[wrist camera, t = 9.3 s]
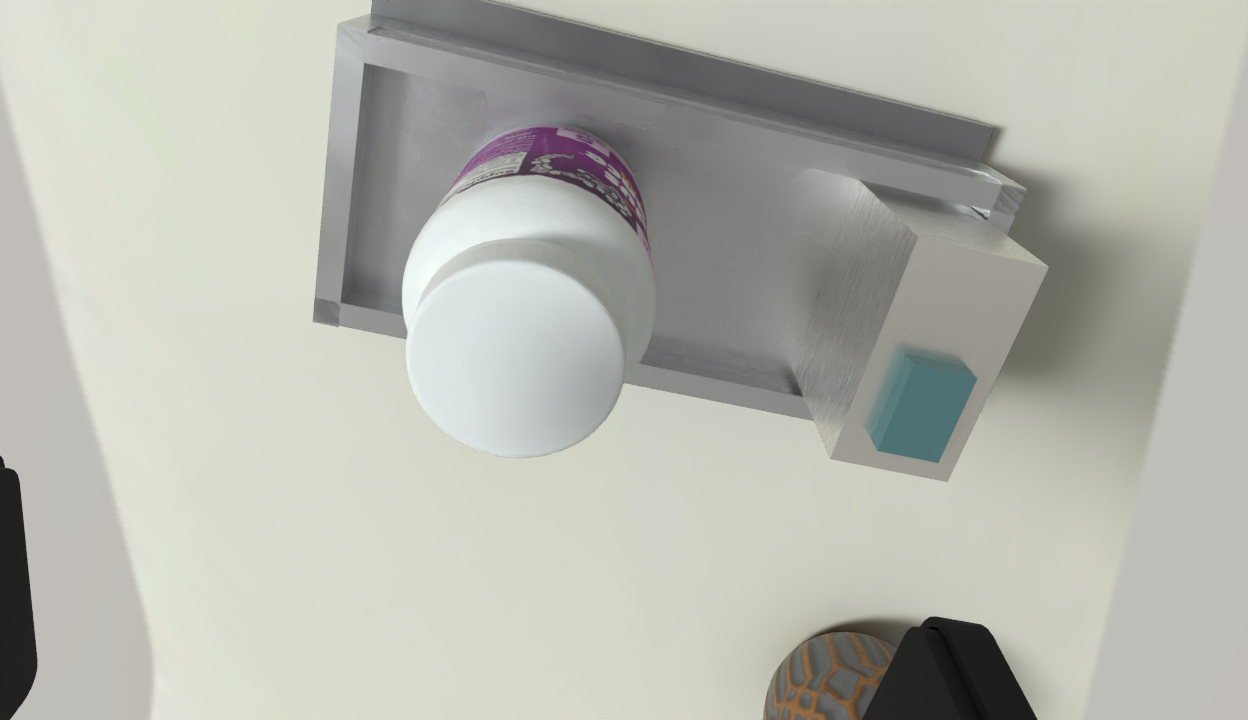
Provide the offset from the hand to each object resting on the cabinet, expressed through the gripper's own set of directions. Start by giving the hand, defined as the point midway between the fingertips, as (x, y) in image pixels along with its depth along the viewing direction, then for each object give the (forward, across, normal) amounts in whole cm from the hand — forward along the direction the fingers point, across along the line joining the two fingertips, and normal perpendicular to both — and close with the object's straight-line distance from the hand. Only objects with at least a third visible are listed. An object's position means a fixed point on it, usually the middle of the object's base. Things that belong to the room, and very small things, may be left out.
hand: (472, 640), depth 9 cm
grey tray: (+19, -3, +1) cm, 19 cm away
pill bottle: (+17, 0, 0) cm, 17 cm away
